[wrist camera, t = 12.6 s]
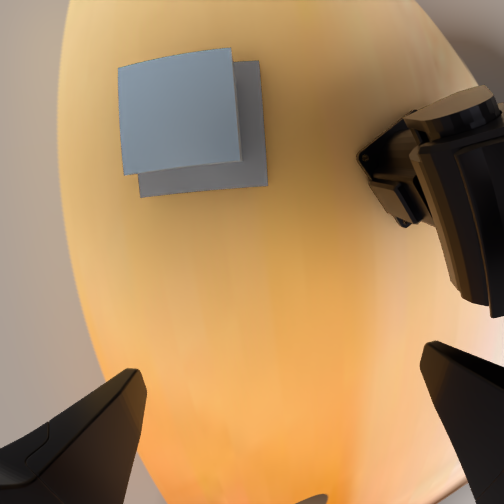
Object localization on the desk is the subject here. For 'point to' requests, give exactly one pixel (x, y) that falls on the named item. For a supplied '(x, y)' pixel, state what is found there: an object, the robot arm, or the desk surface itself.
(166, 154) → the pale blue cube
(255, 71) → the base plate
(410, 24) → the desk surface
